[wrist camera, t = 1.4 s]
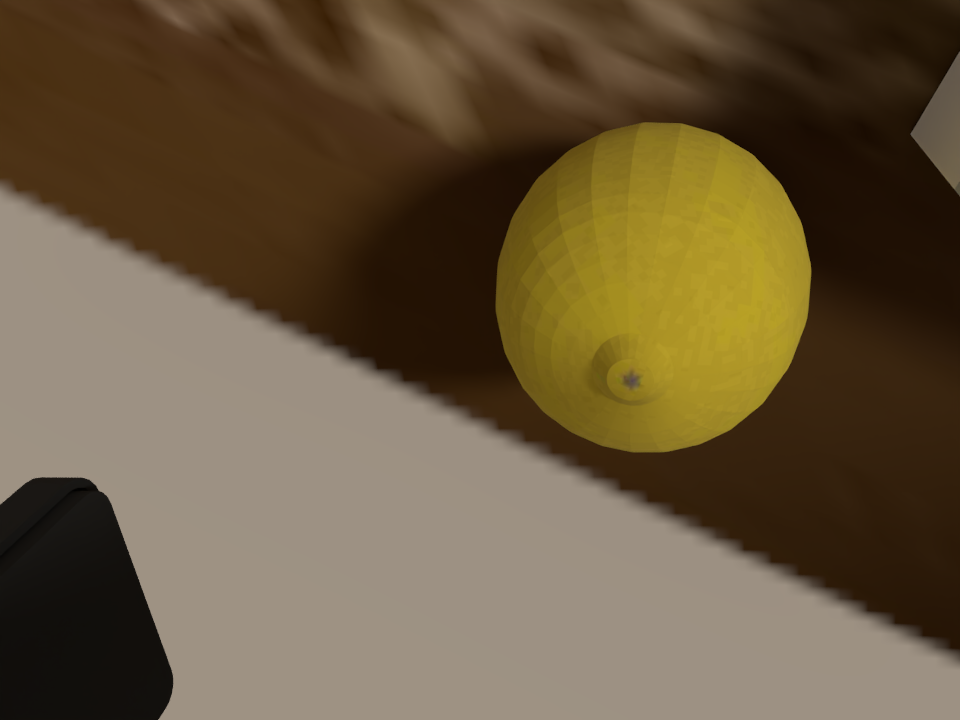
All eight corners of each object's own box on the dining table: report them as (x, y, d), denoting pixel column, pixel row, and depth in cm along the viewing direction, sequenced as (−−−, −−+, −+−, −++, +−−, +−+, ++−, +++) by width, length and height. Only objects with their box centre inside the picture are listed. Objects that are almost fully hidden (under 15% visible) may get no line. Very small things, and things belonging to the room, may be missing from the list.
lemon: (795, 324, 20) (831, 542, 13) (553, 333, 22) (474, 534, 15) (794, 72, 18) (838, 177, 11) (524, 102, 20) (415, 211, 13)
